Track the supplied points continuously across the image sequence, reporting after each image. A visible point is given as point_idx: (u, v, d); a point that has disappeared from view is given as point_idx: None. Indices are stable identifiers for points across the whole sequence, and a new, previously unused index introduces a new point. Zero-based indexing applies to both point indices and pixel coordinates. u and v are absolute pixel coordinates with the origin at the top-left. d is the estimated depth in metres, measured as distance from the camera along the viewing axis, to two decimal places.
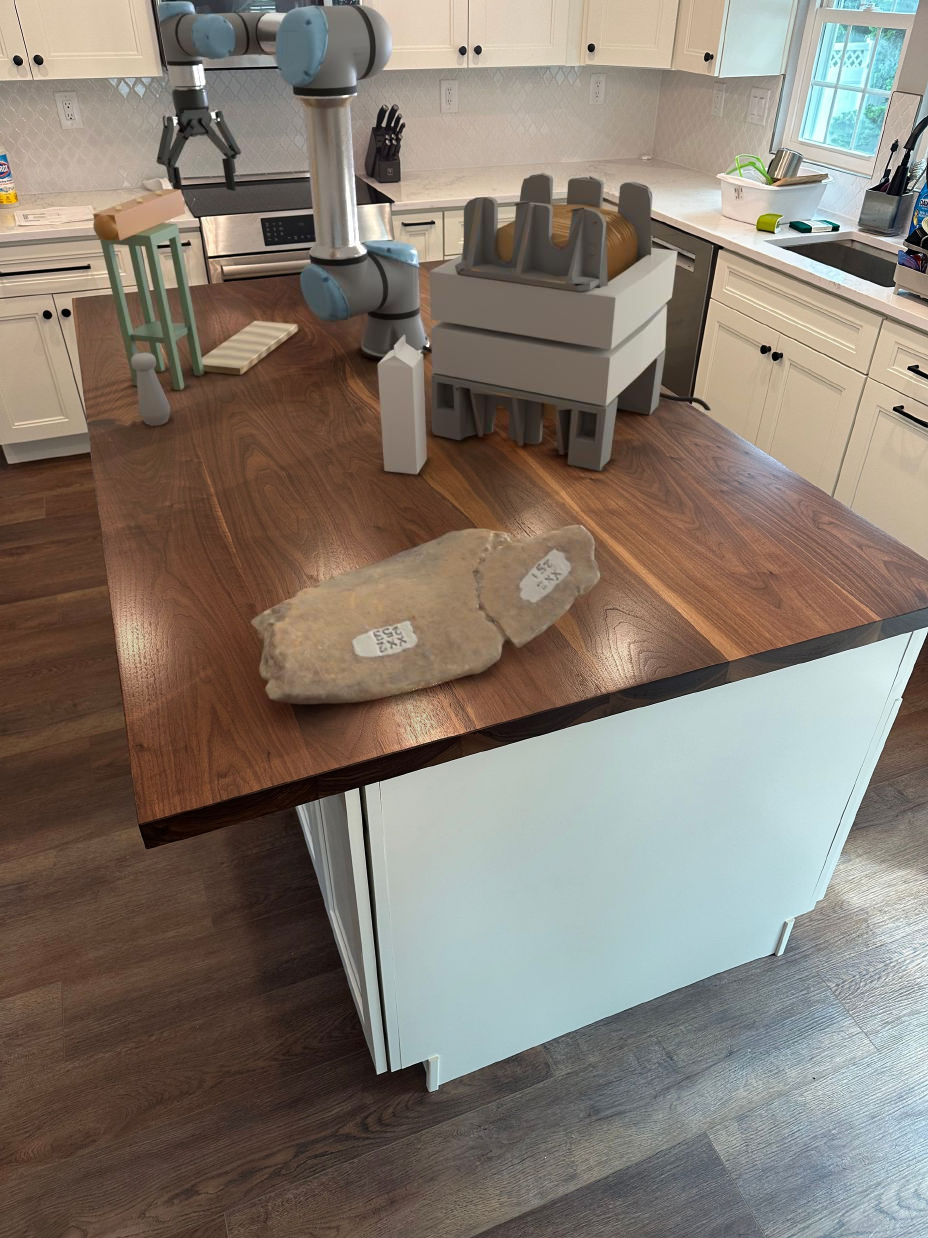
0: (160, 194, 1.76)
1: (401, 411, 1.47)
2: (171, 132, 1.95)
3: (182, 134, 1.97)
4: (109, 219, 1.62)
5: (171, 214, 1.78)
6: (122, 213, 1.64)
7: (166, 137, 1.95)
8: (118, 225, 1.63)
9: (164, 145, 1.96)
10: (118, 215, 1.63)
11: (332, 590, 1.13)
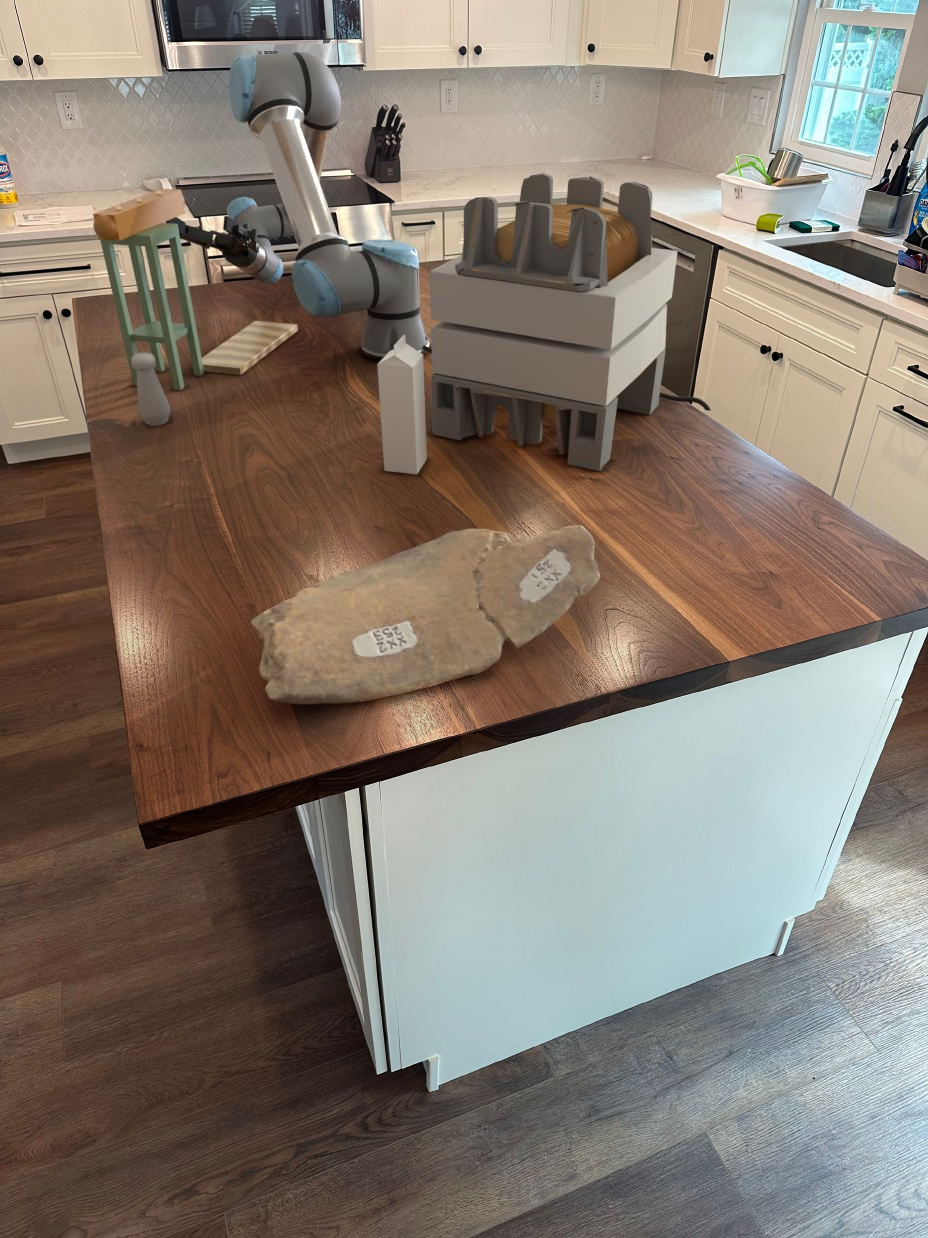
0: (160, 194, 1.76)
1: (401, 411, 1.47)
2: (252, 248, 2.02)
3: None
4: (109, 219, 1.62)
5: (171, 214, 1.78)
6: (122, 213, 1.64)
7: (256, 245, 2.01)
8: (118, 225, 1.63)
9: (256, 243, 1.99)
10: (118, 215, 1.63)
11: (332, 590, 1.13)
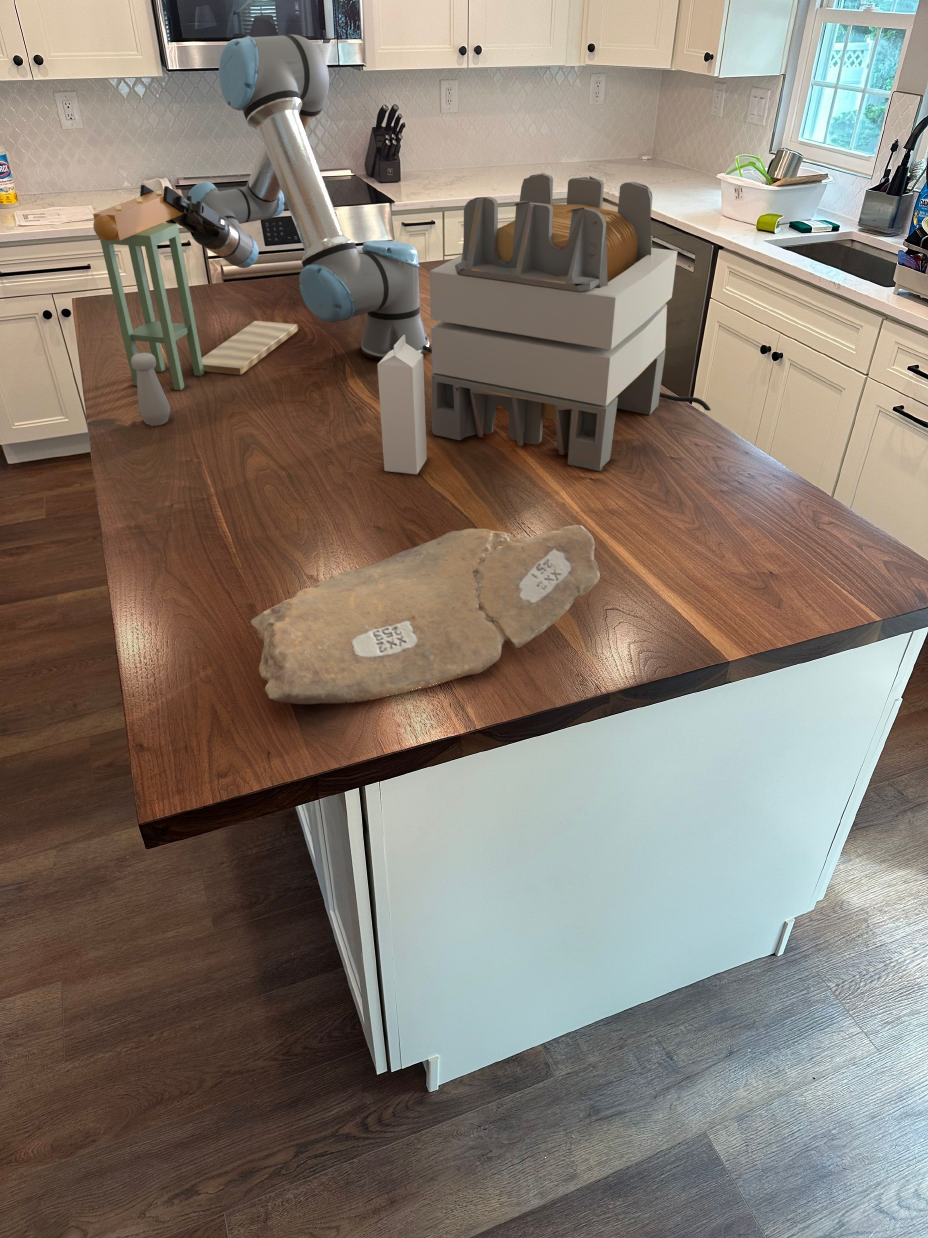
0: (160, 194, 1.76)
1: (401, 411, 1.47)
2: (213, 225, 1.88)
3: (201, 222, 1.88)
4: (109, 219, 1.62)
5: (171, 214, 1.78)
6: (122, 213, 1.64)
7: (213, 221, 1.86)
8: (118, 225, 1.63)
9: (209, 218, 1.85)
10: (118, 215, 1.63)
11: (332, 590, 1.13)
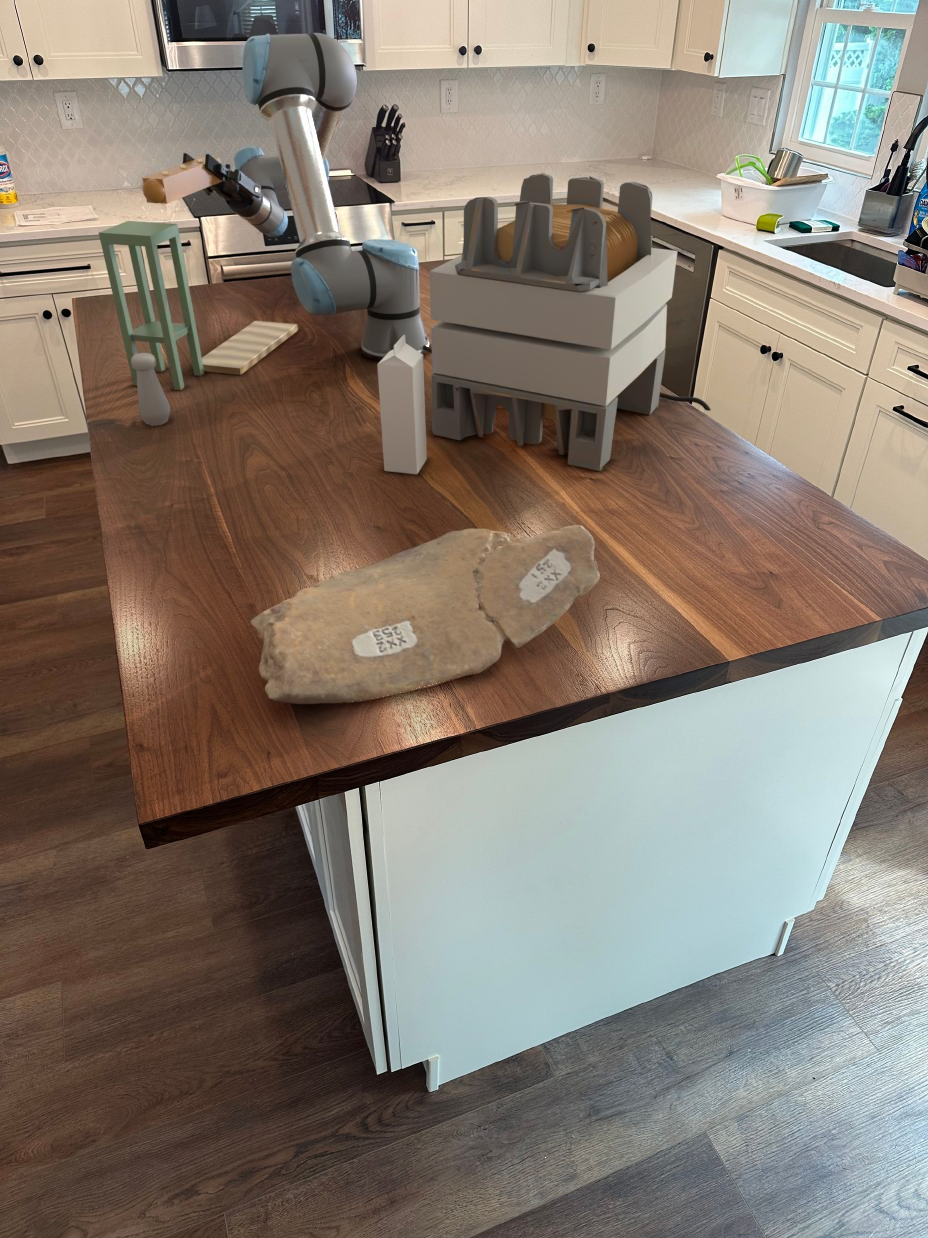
0: (201, 162, 1.86)
1: (401, 411, 1.47)
2: (249, 192, 1.99)
3: (237, 190, 1.99)
4: (158, 183, 1.73)
5: (212, 181, 1.89)
6: (169, 177, 1.75)
7: (249, 189, 1.97)
8: (166, 189, 1.74)
9: (245, 185, 1.96)
10: (166, 179, 1.74)
11: (332, 590, 1.13)
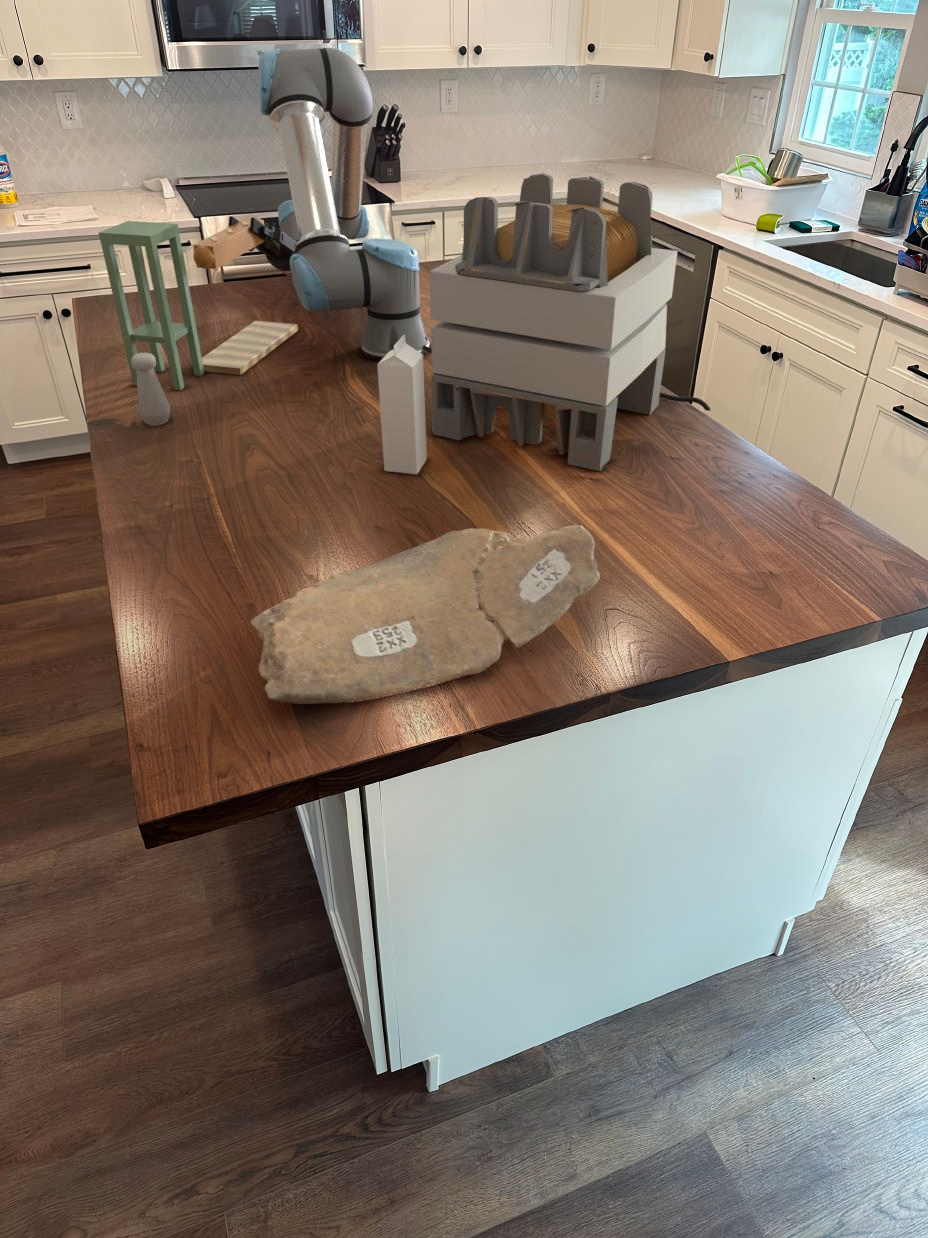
0: (247, 224, 1.94)
1: (401, 411, 1.47)
2: (290, 250, 2.06)
3: (279, 247, 2.06)
4: (208, 250, 1.80)
5: (256, 242, 1.97)
6: (218, 244, 1.82)
7: (290, 247, 2.05)
8: (215, 255, 1.82)
9: (287, 244, 2.03)
10: (215, 246, 1.81)
11: (332, 590, 1.13)
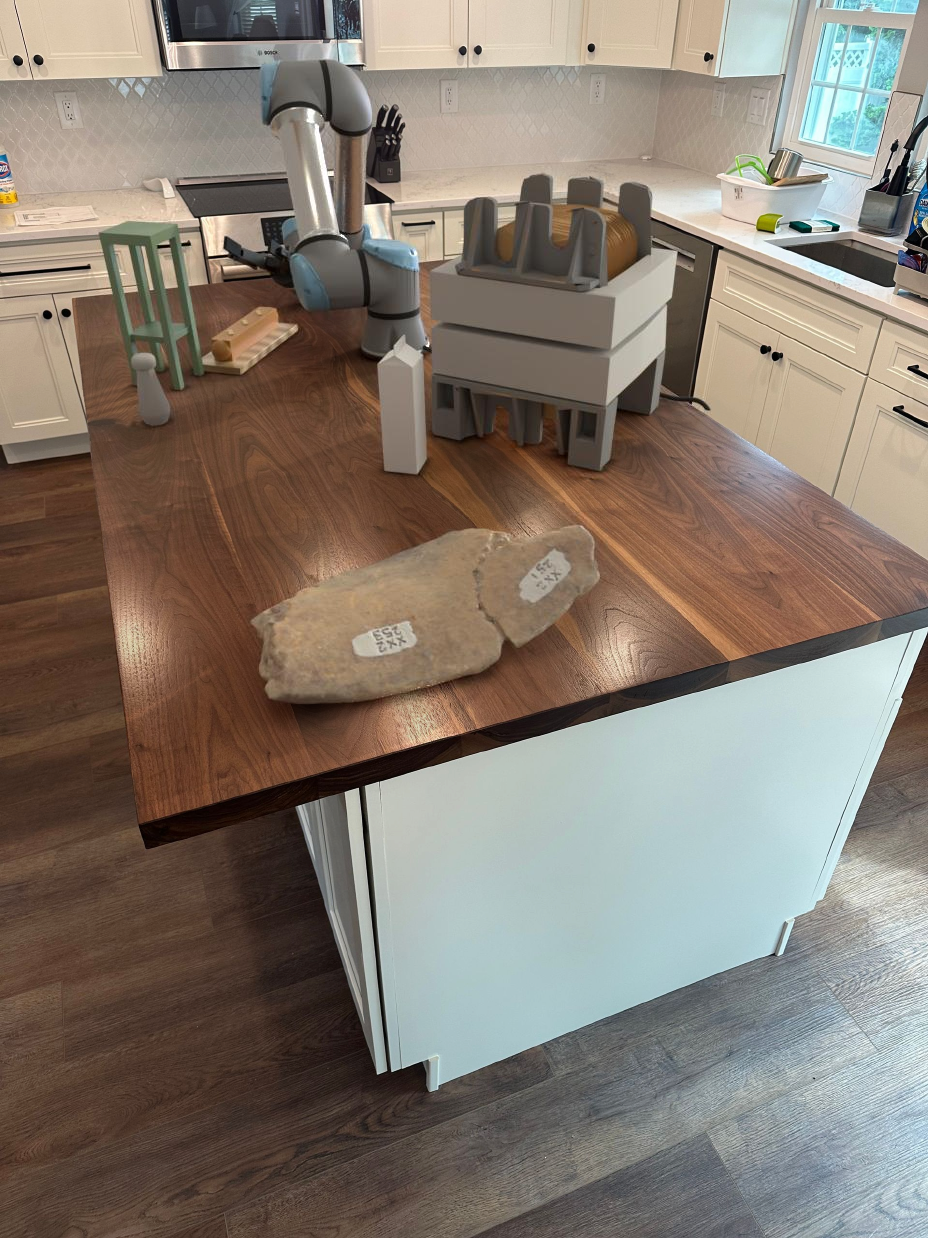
0: (260, 314, 2.06)
1: (401, 411, 1.47)
2: None
3: None
4: (225, 344, 1.92)
5: (269, 330, 2.08)
6: (235, 338, 1.94)
7: None
8: (232, 348, 1.93)
9: None
10: (232, 340, 1.93)
11: (332, 590, 1.13)
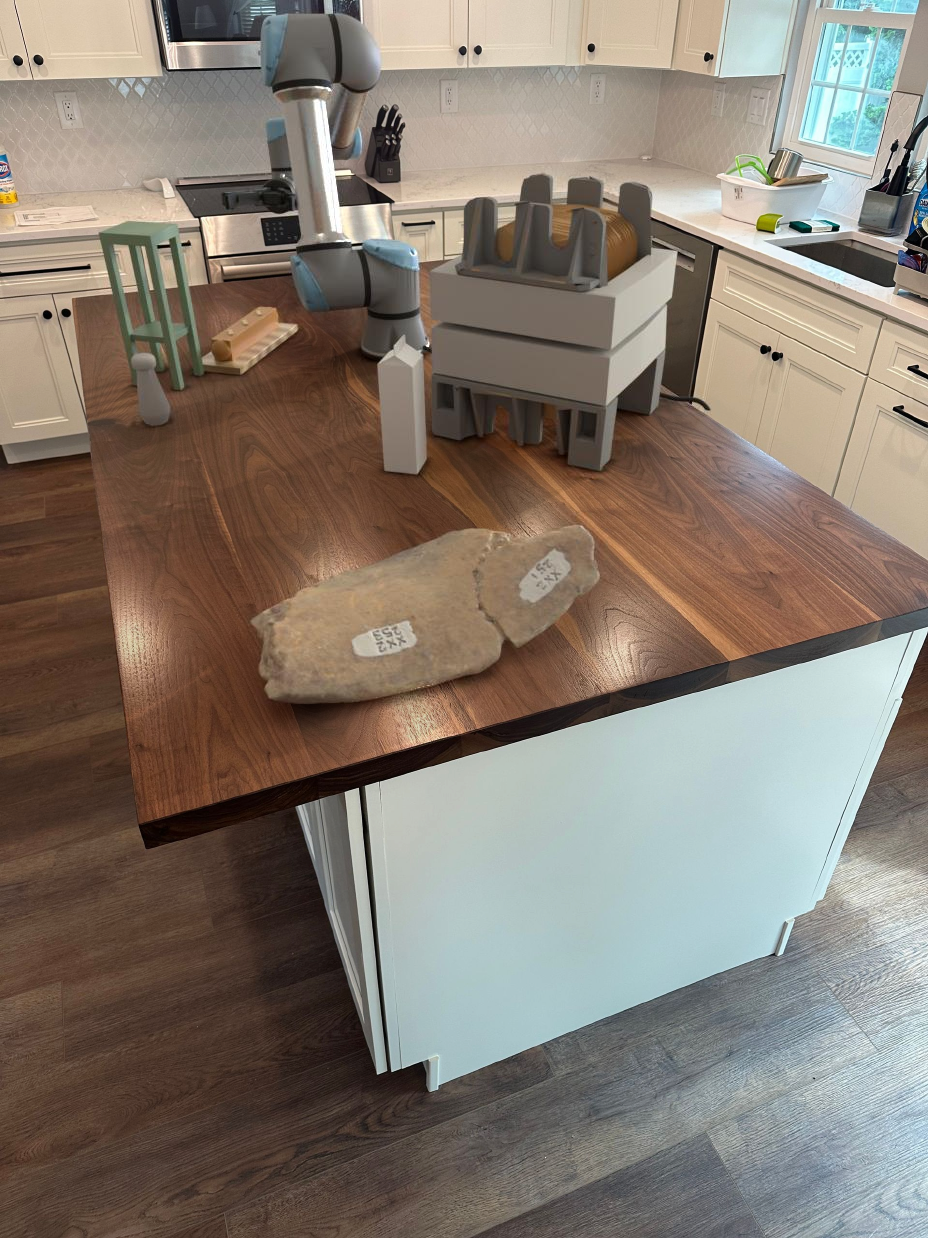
0: (260, 314, 2.06)
1: (401, 411, 1.47)
2: None
3: None
4: (225, 344, 1.92)
5: (269, 330, 2.08)
6: (235, 338, 1.94)
7: None
8: (232, 348, 1.93)
9: None
10: (232, 340, 1.93)
11: (332, 590, 1.13)
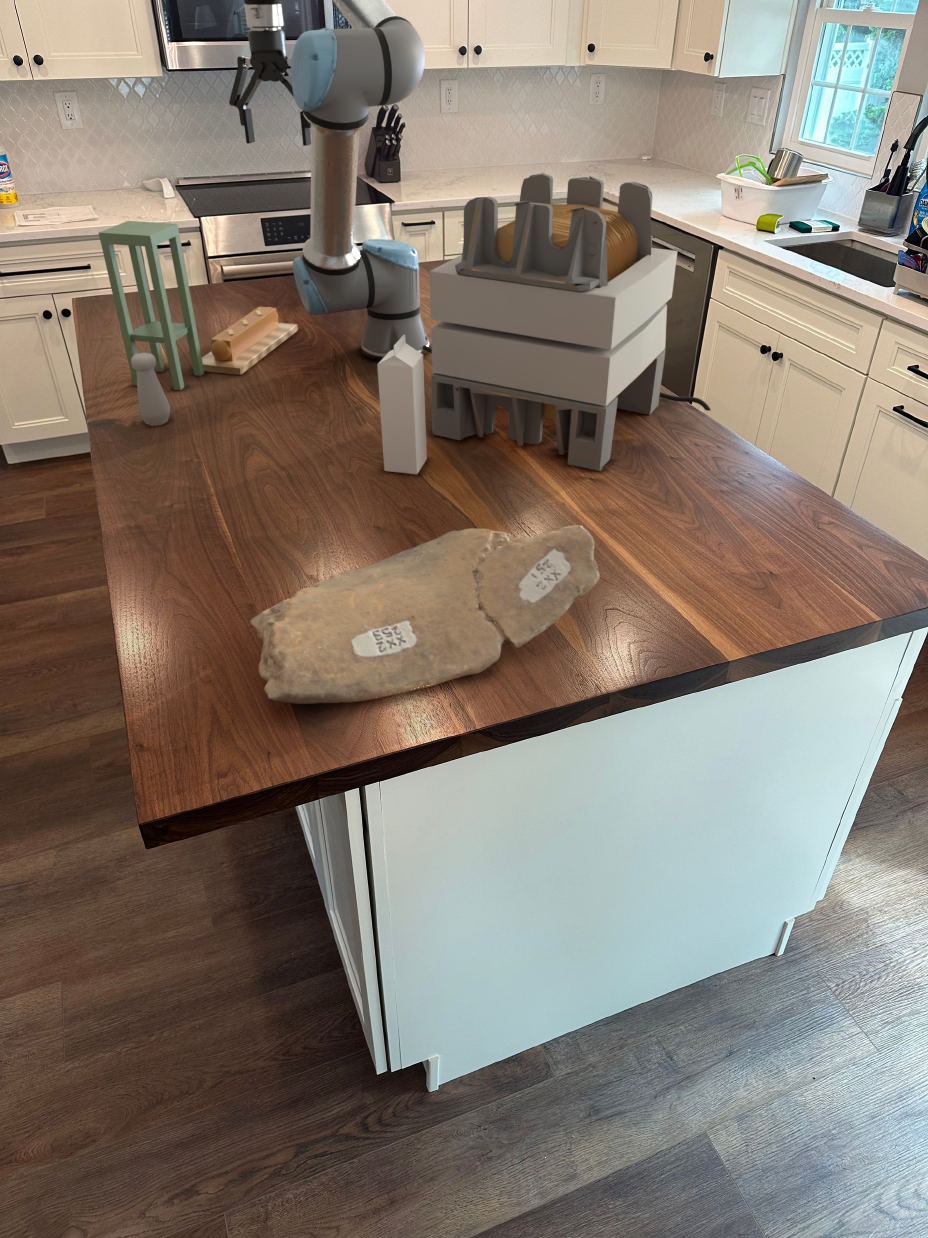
0: (260, 314, 2.06)
1: (401, 411, 1.47)
2: None
3: (289, 77, 1.91)
4: (225, 344, 1.92)
5: (269, 330, 2.08)
6: (235, 338, 1.94)
7: None
8: (232, 348, 1.93)
9: None
10: (232, 340, 1.93)
11: (331, 590, 1.13)
